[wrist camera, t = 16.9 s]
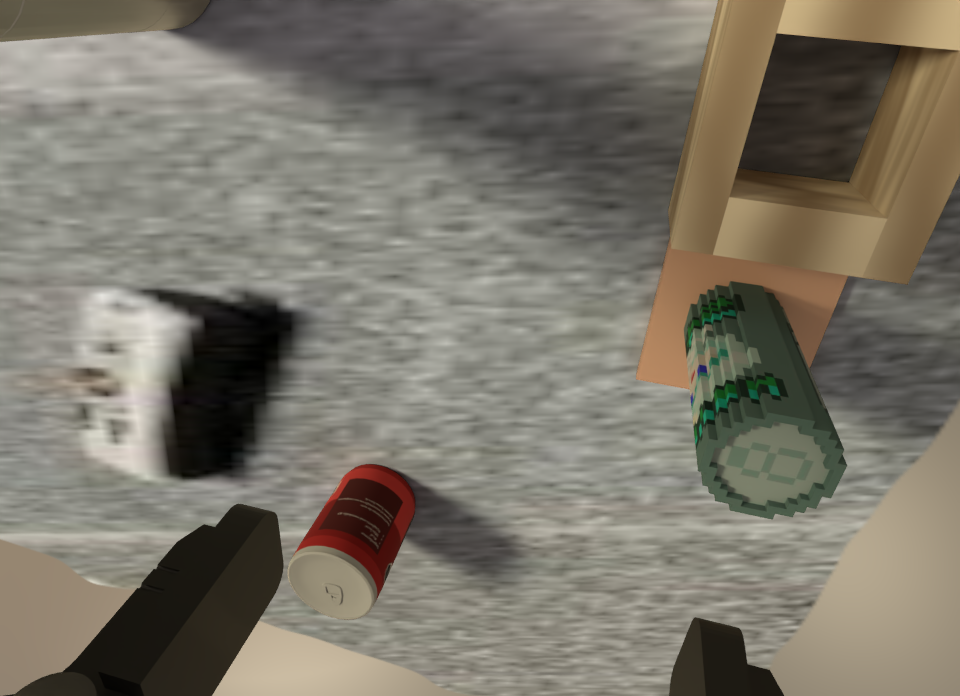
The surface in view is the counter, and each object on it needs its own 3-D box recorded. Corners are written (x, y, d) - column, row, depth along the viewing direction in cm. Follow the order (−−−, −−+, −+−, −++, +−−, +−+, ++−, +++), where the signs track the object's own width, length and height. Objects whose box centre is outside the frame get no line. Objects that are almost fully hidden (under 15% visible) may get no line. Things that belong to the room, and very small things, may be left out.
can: (698, 276, 41) (720, 403, 28) (795, 290, 40) (864, 430, 27) (676, 354, 44) (688, 501, 31) (766, 370, 43) (816, 528, 30)
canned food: (362, 527, 62) (311, 622, 53) (329, 465, 59) (269, 554, 49) (430, 522, 59) (389, 620, 50) (399, 456, 56) (349, 549, 47)
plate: (636, 373, 46) (636, 379, 45) (670, 234, 40) (670, 238, 40) (790, 402, 44) (792, 408, 44) (849, 260, 39) (852, 265, 38)
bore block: (668, 210, 40) (671, 248, 34) (729, -46, 33) (747, -55, 27) (867, 239, 38) (907, 284, 32) (978, -27, 31) (1057, -32, 25)
